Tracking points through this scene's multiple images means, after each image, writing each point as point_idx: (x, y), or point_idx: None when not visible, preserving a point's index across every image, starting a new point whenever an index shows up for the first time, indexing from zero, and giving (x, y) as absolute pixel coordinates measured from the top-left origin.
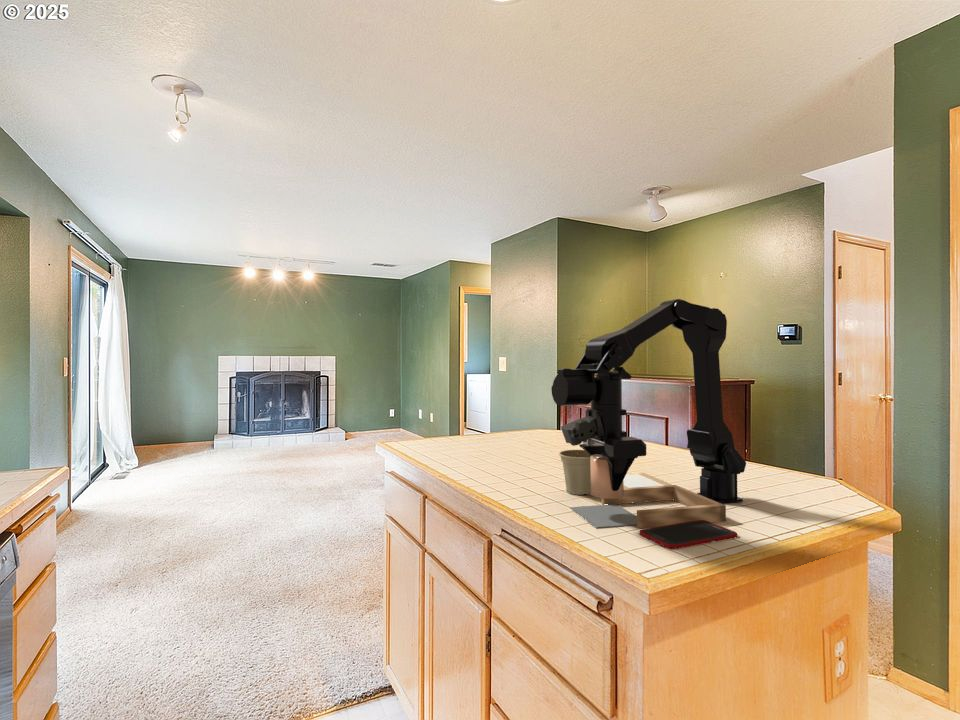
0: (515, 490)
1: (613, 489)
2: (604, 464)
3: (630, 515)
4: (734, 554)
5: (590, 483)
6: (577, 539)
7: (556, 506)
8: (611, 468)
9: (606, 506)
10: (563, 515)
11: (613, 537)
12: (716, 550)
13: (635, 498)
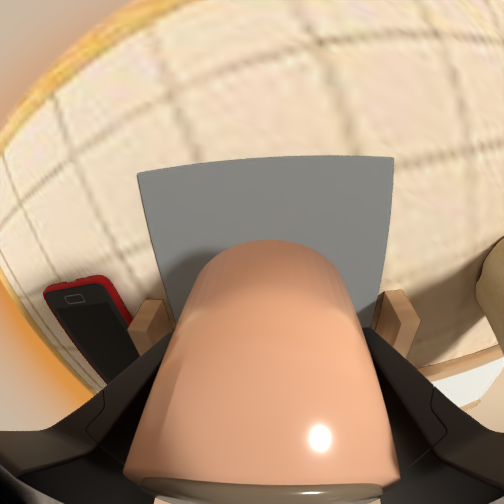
0: None
1: (165, 336)
2: (133, 439)
3: None
4: (60, 354)
5: (490, 309)
6: (66, 97)
7: (425, 118)
8: (77, 414)
9: (359, 292)
10: (309, 92)
11: (77, 202)
12: (65, 346)
13: None
